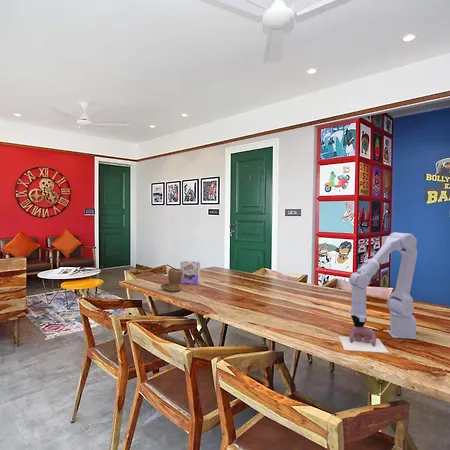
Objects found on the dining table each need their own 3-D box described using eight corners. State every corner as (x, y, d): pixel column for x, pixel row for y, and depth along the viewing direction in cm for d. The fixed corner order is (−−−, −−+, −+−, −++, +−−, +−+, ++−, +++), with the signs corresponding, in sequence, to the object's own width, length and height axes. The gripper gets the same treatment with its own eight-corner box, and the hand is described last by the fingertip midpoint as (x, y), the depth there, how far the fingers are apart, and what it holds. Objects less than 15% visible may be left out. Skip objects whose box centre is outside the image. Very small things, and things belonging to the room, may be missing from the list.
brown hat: (186, 290, 223) (186, 268, 223) (170, 293, 216) (170, 270, 215) (175, 286, 235) (174, 265, 235) (159, 289, 228) (159, 267, 227)
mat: (378, 338, 137) (378, 338, 137) (389, 353, 124) (389, 352, 124) (338, 336, 140) (338, 336, 140) (344, 350, 126) (344, 349, 126)
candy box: (180, 283, 245) (180, 261, 245) (183, 281, 251) (183, 260, 250) (197, 284, 241) (197, 262, 241) (200, 283, 247) (200, 261, 246)
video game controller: (375, 347, 132) (376, 329, 135) (375, 345, 129) (376, 327, 131) (349, 343, 137) (350, 325, 139) (348, 341, 133) (349, 324, 135)
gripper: (345, 296, 146) (345, 326, 147) (352, 305, 132) (351, 339, 132) (362, 297, 145) (362, 327, 145) (370, 306, 131) (370, 340, 131)
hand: (358, 333), depth 139 cm, fingers closed
